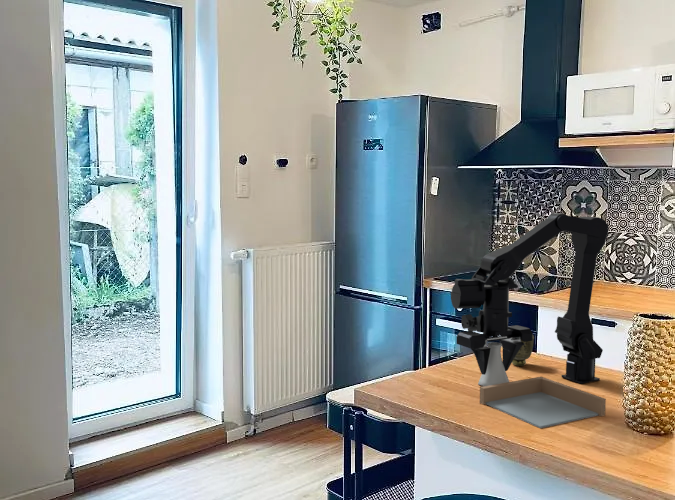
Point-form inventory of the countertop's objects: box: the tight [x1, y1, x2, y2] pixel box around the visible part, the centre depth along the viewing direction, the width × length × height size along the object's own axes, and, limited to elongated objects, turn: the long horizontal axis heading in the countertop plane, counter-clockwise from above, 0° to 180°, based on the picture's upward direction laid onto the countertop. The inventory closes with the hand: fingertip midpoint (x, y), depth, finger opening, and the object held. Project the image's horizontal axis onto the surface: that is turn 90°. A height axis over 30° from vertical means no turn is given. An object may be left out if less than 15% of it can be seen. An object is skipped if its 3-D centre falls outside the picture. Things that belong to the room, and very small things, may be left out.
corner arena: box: [479, 376, 607, 429], centre depth 135 cm, size 18×18×4 cm
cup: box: [511, 334, 535, 367], centre depth 170 cm, size 8×7×8 cm
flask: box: [477, 341, 510, 387], centre depth 152 cm, size 7×7×10 cm
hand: (494, 372), depth 152 cm, fingers open, 6 cm apart
